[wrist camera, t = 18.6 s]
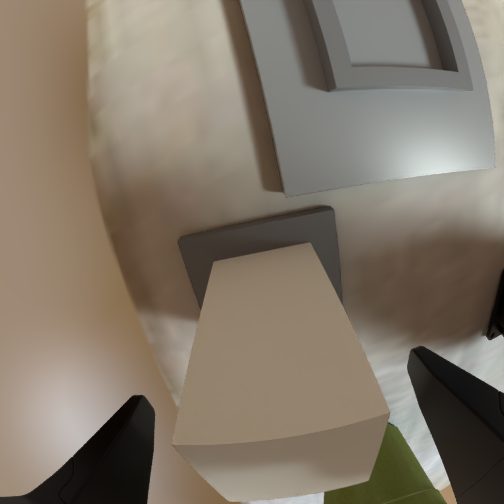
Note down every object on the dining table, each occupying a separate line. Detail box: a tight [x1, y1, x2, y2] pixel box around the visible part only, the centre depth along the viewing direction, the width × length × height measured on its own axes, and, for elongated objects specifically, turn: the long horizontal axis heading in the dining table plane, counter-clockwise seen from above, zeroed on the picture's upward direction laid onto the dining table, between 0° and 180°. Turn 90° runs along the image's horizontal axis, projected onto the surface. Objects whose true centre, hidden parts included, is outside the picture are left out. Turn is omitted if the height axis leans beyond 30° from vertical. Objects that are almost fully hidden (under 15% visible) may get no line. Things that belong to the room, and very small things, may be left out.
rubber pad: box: [178, 206, 343, 309], centre depth 14 cm, size 7×7×1 cm
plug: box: [172, 242, 390, 502], centre depth 10 cm, size 4×4×9 cm
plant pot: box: [324, 423, 447, 504], centre depth 16 cm, size 12×12×11 cm
